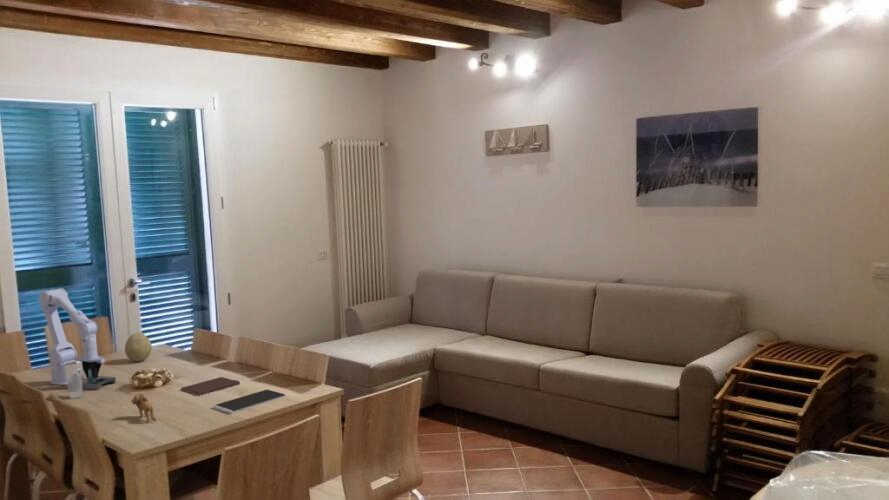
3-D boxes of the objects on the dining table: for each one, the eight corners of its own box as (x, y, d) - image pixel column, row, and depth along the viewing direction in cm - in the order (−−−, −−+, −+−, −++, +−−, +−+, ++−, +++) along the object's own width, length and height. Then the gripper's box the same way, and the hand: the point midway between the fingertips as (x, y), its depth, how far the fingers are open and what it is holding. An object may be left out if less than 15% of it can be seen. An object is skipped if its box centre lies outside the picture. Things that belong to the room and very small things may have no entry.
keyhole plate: (74, 388, 304) (73, 382, 304) (94, 381, 315) (93, 375, 314) (96, 390, 300) (96, 384, 300) (115, 383, 310) (115, 377, 310)
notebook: (181, 391, 296) (180, 386, 295) (221, 380, 311) (220, 375, 310) (199, 397, 286) (199, 392, 286) (239, 385, 301) (239, 381, 301)
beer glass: (67, 400, 287) (63, 365, 285) (67, 396, 293) (64, 362, 291) (85, 397, 290) (82, 363, 288) (85, 393, 296) (82, 359, 295)
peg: (86, 386, 306) (84, 370, 306) (93, 383, 310) (91, 367, 310) (93, 386, 305) (92, 370, 305) (100, 383, 309) (98, 368, 308)
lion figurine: (130, 417, 262) (128, 394, 261) (144, 413, 266) (142, 391, 265) (149, 424, 253) (147, 401, 252) (163, 420, 257) (161, 397, 256)
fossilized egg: (130, 358, 356) (128, 331, 354) (155, 357, 357) (153, 329, 356) (122, 365, 343) (119, 336, 342) (148, 363, 345) (145, 334, 343)
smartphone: (287, 397, 281) (287, 393, 281) (230, 415, 260) (230, 411, 260) (268, 392, 290) (268, 388, 289) (211, 409, 269) (211, 405, 269)
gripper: (109, 347, 307) (111, 376, 309) (84, 345, 312) (87, 374, 314) (96, 350, 301) (99, 380, 302) (72, 349, 306) (74, 378, 307)
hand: (92, 377), depth 307 cm, fingers closed on peg, 3 cm apart
